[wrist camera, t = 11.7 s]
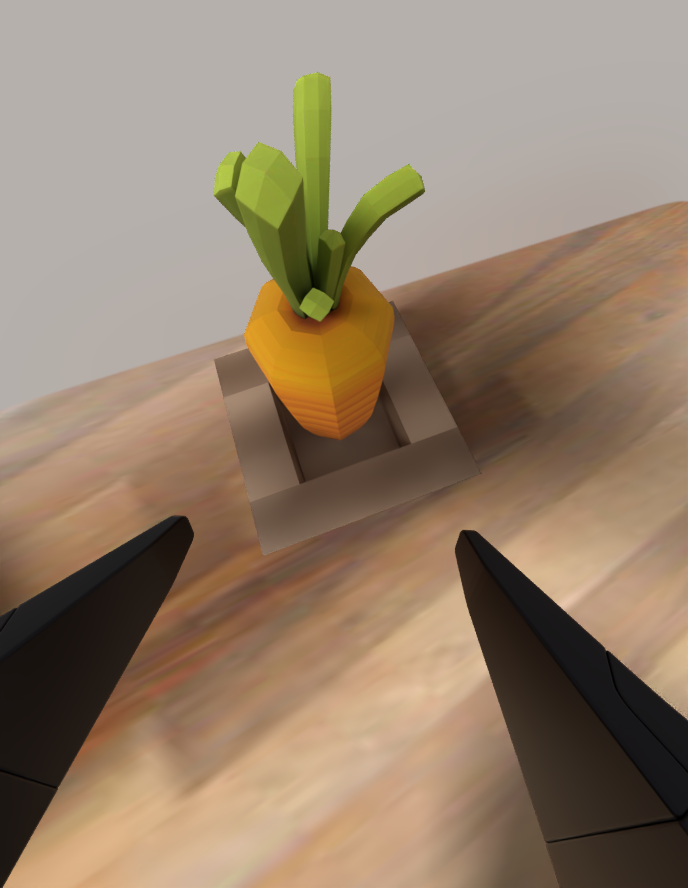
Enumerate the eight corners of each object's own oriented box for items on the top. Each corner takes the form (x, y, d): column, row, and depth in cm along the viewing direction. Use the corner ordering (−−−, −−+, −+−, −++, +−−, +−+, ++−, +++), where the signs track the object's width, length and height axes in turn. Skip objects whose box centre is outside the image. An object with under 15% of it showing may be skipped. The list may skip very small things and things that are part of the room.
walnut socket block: (456, 480, 17) (481, 473, 14) (281, 546, 17) (262, 555, 13) (386, 335, 21) (392, 301, 17) (237, 385, 20) (214, 359, 17)
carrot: (331, 385, 19) (253, -25, 4) (386, 420, 18) (523, 48, 3) (291, 437, 18) (24, 135, 3) (347, 476, 17) (311, 293, 3)
